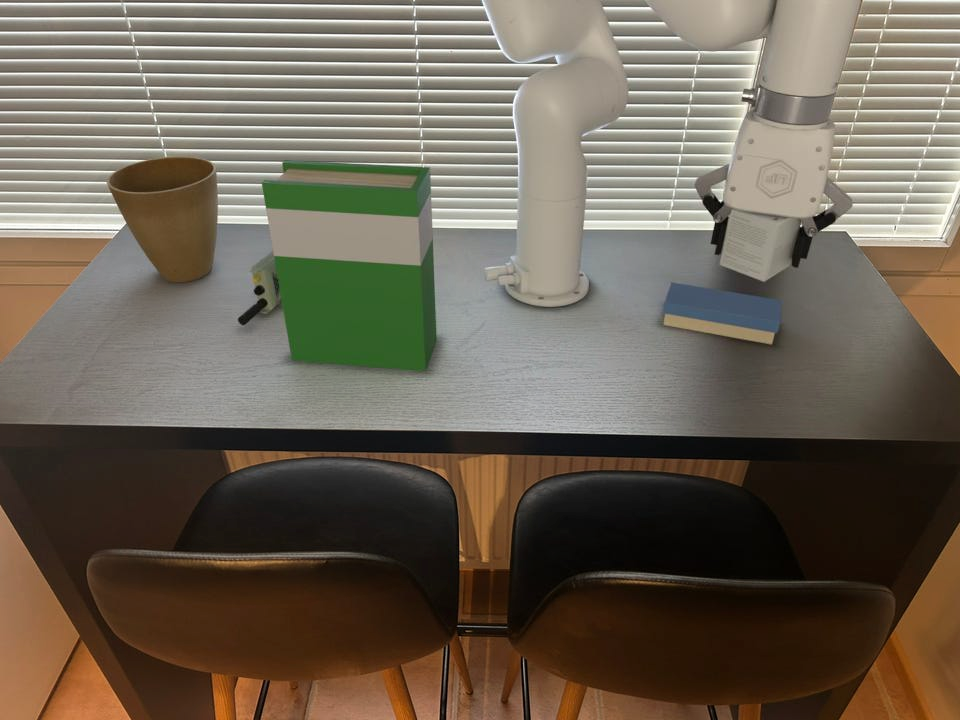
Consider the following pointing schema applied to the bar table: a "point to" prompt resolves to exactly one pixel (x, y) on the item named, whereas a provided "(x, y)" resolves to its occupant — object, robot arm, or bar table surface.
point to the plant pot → (171, 212)
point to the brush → (722, 313)
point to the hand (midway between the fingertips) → (756, 255)
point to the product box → (759, 243)
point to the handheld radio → (263, 288)
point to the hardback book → (355, 262)
